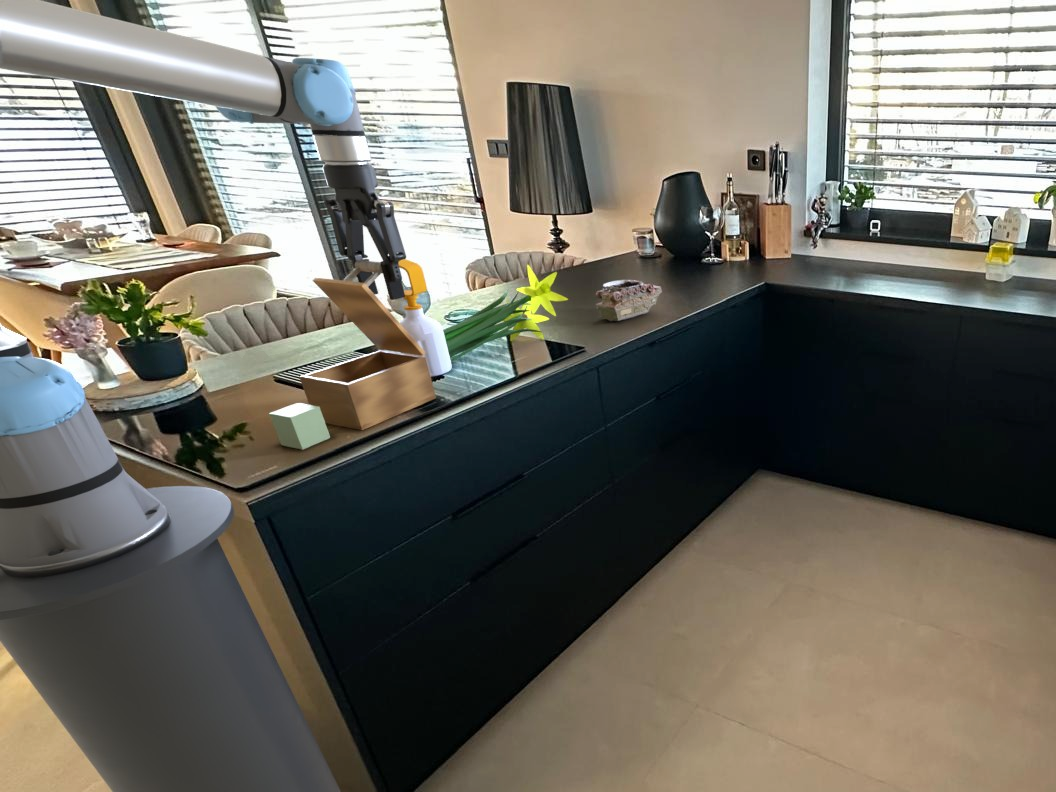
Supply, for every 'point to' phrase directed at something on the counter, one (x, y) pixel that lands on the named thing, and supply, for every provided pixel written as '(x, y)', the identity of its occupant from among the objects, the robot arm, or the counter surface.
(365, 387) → the chest
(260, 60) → the robot arm
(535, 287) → the daffodil flowers
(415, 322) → the soap bottle
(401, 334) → the lid
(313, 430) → the block
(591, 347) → the counter surface
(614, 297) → the decorative box
